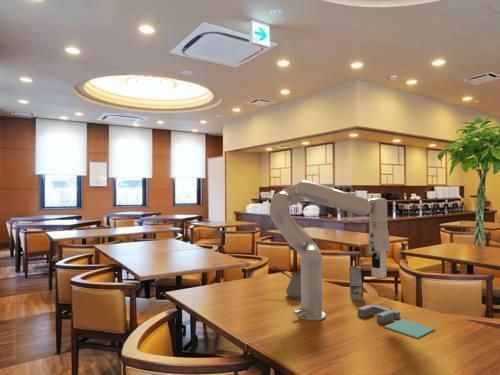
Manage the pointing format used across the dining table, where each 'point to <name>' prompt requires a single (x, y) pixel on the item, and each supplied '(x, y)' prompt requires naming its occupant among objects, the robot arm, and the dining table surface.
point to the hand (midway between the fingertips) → (378, 266)
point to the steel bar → (380, 266)
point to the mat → (409, 328)
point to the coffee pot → (293, 284)
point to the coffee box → (356, 282)
